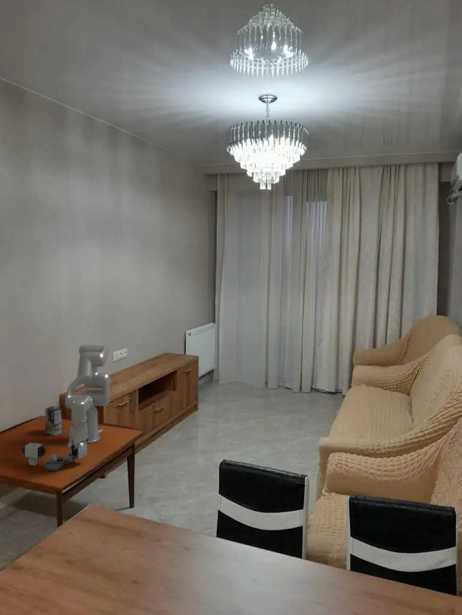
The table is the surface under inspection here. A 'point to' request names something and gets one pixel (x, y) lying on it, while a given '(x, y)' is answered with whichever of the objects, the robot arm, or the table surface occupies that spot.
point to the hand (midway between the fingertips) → (78, 452)
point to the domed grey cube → (80, 450)
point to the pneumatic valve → (33, 452)
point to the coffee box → (53, 420)
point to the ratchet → (57, 462)
